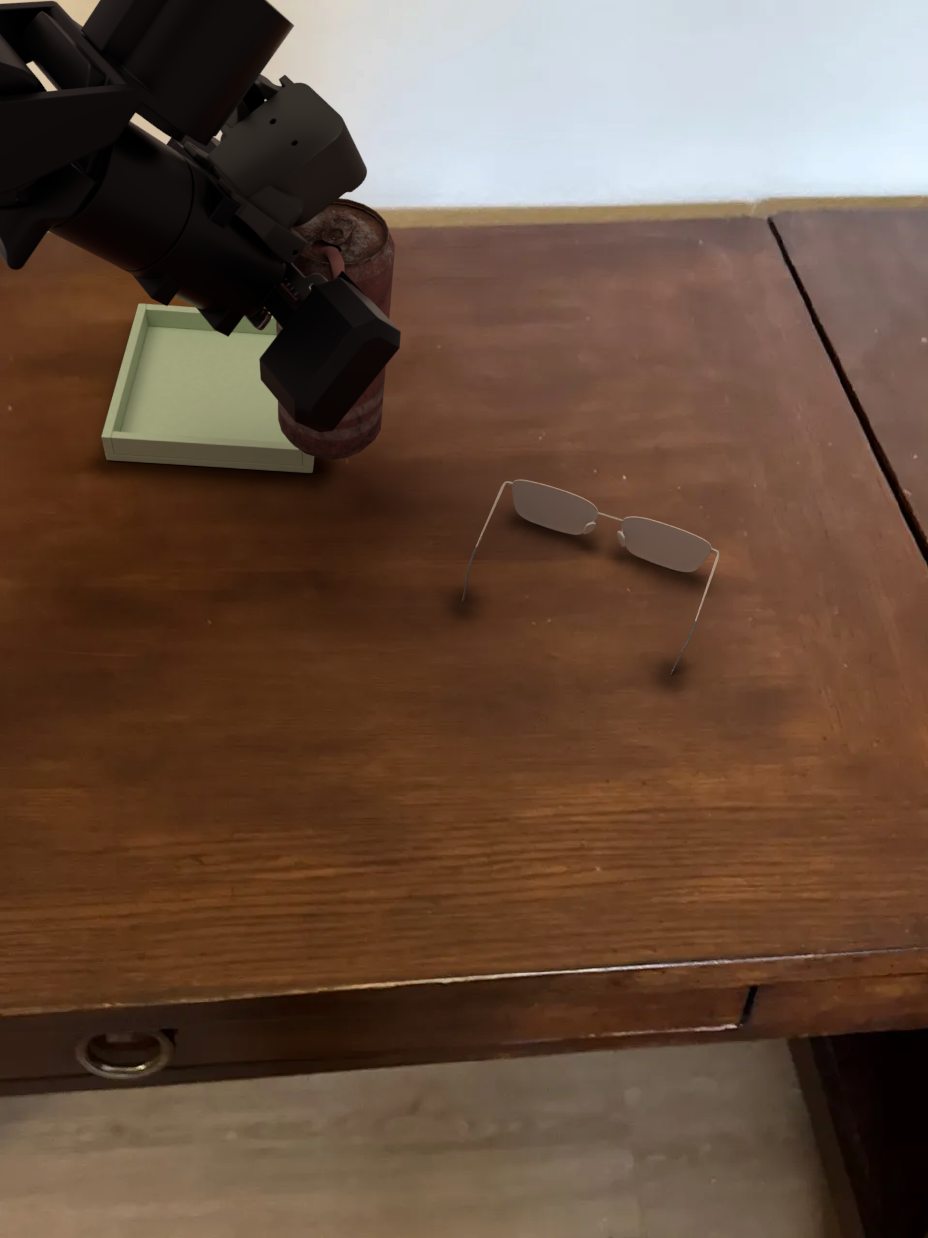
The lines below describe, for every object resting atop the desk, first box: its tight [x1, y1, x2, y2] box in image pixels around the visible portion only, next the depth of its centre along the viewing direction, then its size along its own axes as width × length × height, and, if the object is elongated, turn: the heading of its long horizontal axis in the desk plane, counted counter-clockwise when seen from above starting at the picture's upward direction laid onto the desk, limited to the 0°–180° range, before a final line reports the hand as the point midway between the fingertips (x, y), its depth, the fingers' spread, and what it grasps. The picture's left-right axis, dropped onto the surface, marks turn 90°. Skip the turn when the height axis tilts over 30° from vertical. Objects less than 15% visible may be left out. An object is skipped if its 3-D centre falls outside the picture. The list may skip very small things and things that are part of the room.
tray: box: [100, 303, 315, 474], centre depth 81 cm, size 13×13×2 cm
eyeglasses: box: [461, 479, 720, 675], centre depth 73 cm, size 14×8×4 cm, turn 69°
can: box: [276, 197, 396, 460], centre depth 67 cm, size 6×6×14 cm
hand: (355, 330), depth 67 cm, fingers closed on can, 5 cm apart
